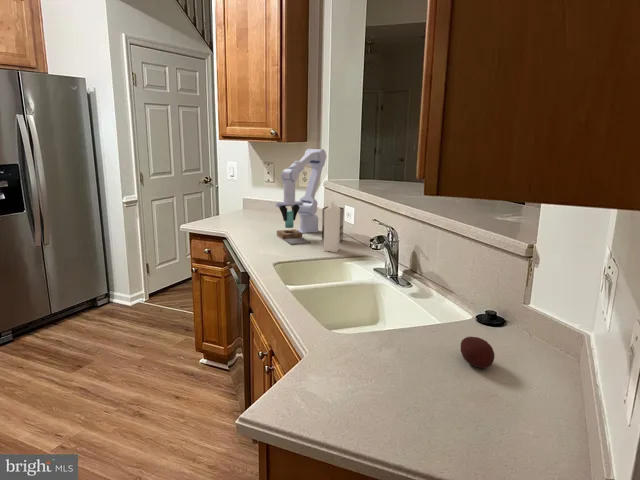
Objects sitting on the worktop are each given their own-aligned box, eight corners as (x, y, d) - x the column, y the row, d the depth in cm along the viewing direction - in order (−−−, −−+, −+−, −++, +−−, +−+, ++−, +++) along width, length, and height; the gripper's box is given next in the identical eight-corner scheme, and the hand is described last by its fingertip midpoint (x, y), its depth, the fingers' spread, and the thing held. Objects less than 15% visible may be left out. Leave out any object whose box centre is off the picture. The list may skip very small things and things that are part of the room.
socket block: (295, 234, 240) (295, 229, 240) (302, 238, 231) (302, 233, 231) (276, 235, 236) (276, 230, 236) (283, 239, 227) (283, 234, 227)
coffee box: (343, 239, 230) (344, 207, 226) (338, 242, 225) (339, 209, 221) (326, 237, 234) (327, 205, 230) (321, 240, 228) (322, 207, 224)
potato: (471, 375, 104) (474, 350, 103) (451, 354, 114) (454, 331, 113) (501, 372, 106) (504, 348, 104) (479, 352, 115) (481, 329, 114)
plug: (291, 226, 235) (291, 210, 234) (294, 227, 232) (294, 211, 230) (284, 226, 234) (283, 210, 232) (286, 228, 230) (286, 212, 228)
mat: (302, 238, 230) (302, 237, 230) (310, 243, 221) (310, 242, 221) (283, 240, 226) (283, 238, 226) (290, 244, 218) (290, 243, 217)
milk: (323, 251, 208) (324, 202, 202) (326, 248, 213) (327, 200, 208) (336, 252, 206) (337, 203, 201) (339, 249, 212) (340, 201, 207)
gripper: (299, 191, 235) (298, 217, 239) (272, 193, 229) (272, 220, 232) (305, 193, 229) (305, 220, 233) (278, 194, 223) (278, 222, 226)
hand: (289, 220), depth 232 cm, fingers closed on plug, 4 cm apart
